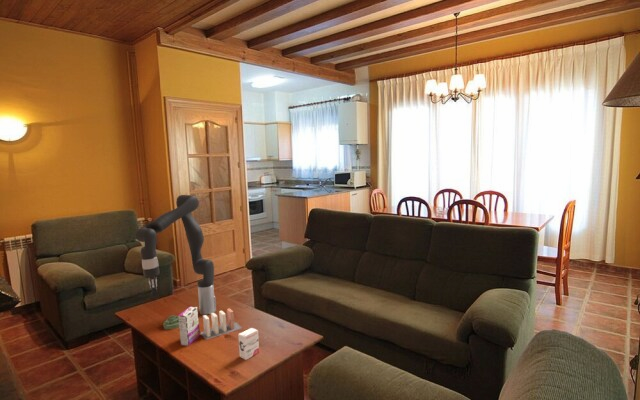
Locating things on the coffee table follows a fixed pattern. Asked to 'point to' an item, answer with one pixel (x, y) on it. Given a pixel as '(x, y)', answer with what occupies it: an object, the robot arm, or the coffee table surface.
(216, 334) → the mat
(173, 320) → the decorative artifact
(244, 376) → the coffee table surface
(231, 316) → the domino
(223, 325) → the domino
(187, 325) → the candy bar box
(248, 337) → the ink box
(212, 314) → the domino
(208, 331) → the domino
